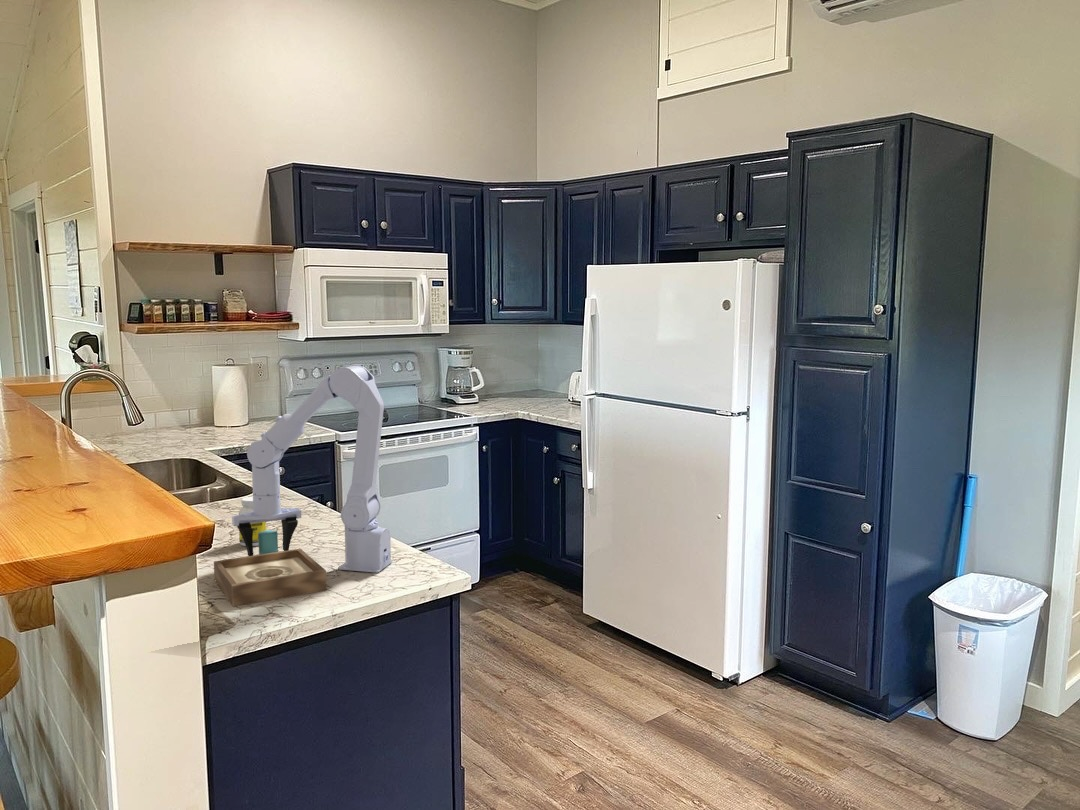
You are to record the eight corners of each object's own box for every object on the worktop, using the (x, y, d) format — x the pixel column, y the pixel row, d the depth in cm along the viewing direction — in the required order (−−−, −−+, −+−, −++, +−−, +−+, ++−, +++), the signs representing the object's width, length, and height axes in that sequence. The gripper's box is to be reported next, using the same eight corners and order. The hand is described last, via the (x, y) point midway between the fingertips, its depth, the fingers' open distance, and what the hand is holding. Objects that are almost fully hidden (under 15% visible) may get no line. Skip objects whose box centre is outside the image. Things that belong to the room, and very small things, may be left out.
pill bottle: (238, 548, 194) (236, 502, 193) (240, 541, 200) (239, 496, 199) (266, 546, 196) (264, 500, 194) (267, 539, 202) (266, 495, 200)
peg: (281, 561, 184) (280, 530, 183) (272, 566, 180) (271, 535, 179) (265, 560, 185) (264, 529, 184) (255, 565, 181) (254, 534, 180)
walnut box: (301, 566, 181) (300, 548, 180) (326, 589, 165) (326, 570, 165) (214, 580, 171) (213, 561, 171) (233, 606, 156) (232, 586, 155)
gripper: (294, 486, 188) (296, 544, 189) (228, 493, 180) (230, 553, 182) (303, 492, 182) (304, 551, 184) (235, 499, 174) (237, 561, 176)
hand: (268, 553), depth 182 cm, fingers open, 7 cm apart
